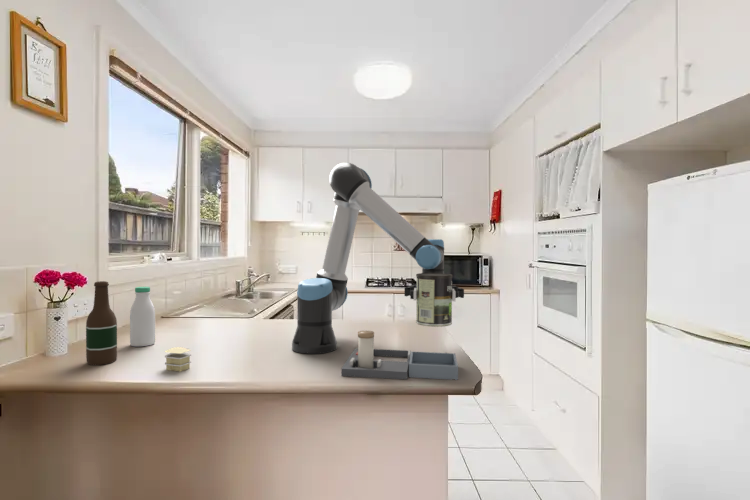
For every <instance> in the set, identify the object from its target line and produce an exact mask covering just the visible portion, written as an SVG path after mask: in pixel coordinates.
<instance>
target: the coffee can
mask: <svg viewBox="0 0 750 500" xmlns="http://www.w3.org/2000/svg"><path fill="white" fill-rule="evenodd" d="M415 277H416V285H417V299H416V320H415V323H416V324H417V325H419V326H423V327H435V328H436V327H437V328H438V327H441V328H442V327H449V326H451V325H452V324H453V322H452V321H453V319H452V318H453V316H452V314H453V313H452V309H453V306H452V305H453V301H452V286H453V274H451V273H445V272H444V273H422V272H421V273H416V276H415Z"/></svg>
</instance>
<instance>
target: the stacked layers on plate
mask: <svg viewBox="0 0 750 500" xmlns="http://www.w3.org/2000/svg"><path fill="white" fill-rule="evenodd" d="M190 351H192V350H191V349H188V348H185V347H183V346H182V347H181V346H177V347H176V346H175V347H171V348H169V349H167V350H165V351H164V352H165V353H167V354H166V355H164V358H165V359H166V360H165V362H164V365H165V368H166V369H165V370H166V371H174V372H175V371H176V372H184V371H186V370H188V369H190V367H191V366H190V365H191V363H192V361H190V358H191V357H192V354H190V353H188V352H190Z"/></svg>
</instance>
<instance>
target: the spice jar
mask: <svg viewBox="0 0 750 500" xmlns="http://www.w3.org/2000/svg"><path fill="white" fill-rule="evenodd" d="M374 338H375V332H374V331H373V330H359V331H358V332H357V339H358V340H357V342H358V345H357V348H358V367H357V368H371V369H374V368H373V361H374V360H375V359H374V357H375V356H374V349H375V348H374V347H375V343H374V342H375V339H374Z"/></svg>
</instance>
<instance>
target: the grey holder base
mask: <svg viewBox="0 0 750 500" xmlns="http://www.w3.org/2000/svg"><path fill="white" fill-rule="evenodd" d="M410 355H411V350H410V349H408V350H405V349H403V350H402V349H401V350H400V349H380V348H379V349H377V348H374V357H375V356H376V357H396V358H398V357H399V358H407V361H399V360H398V361H396V360H382V359H381V358H378V359H374V361H373V369H371V368H358V347H357V348H356V347H355V348H354V349H353V351H352V353H351V354H350V355H349V357H348V358H347V359H346V361H345V363H344V364H343V365H342V367H341V372H340V376H341V377H353V378H354V377H355V378H377V379H392V380H393V379H395V380H408V377H409V361H410Z"/></svg>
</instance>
